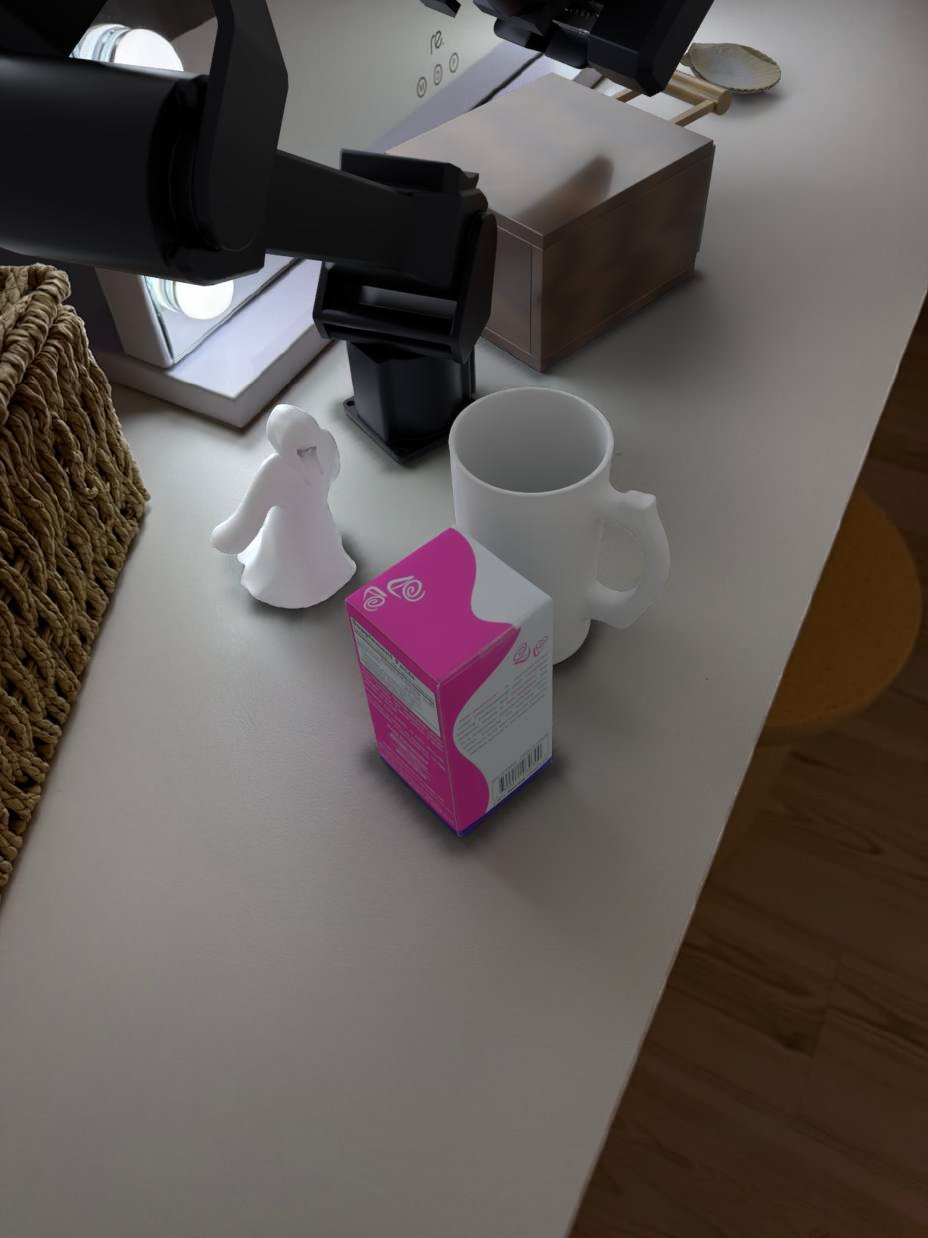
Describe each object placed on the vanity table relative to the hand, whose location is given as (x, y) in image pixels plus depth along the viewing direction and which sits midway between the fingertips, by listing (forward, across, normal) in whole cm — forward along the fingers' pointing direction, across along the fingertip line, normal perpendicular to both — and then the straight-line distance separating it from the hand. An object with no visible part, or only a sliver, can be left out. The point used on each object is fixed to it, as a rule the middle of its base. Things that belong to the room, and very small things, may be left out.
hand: (614, 61), depth 63 cm
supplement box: (-16, -24, +34) cm, 45 cm away
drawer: (+7, 0, +9) cm, 11 cm away
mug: (-10, -22, +28) cm, 37 cm away
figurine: (-15, -9, +33) cm, 37 cm away
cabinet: (+5, 0, +13) cm, 14 cm away
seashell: (+27, +9, -9) cm, 30 cm away
